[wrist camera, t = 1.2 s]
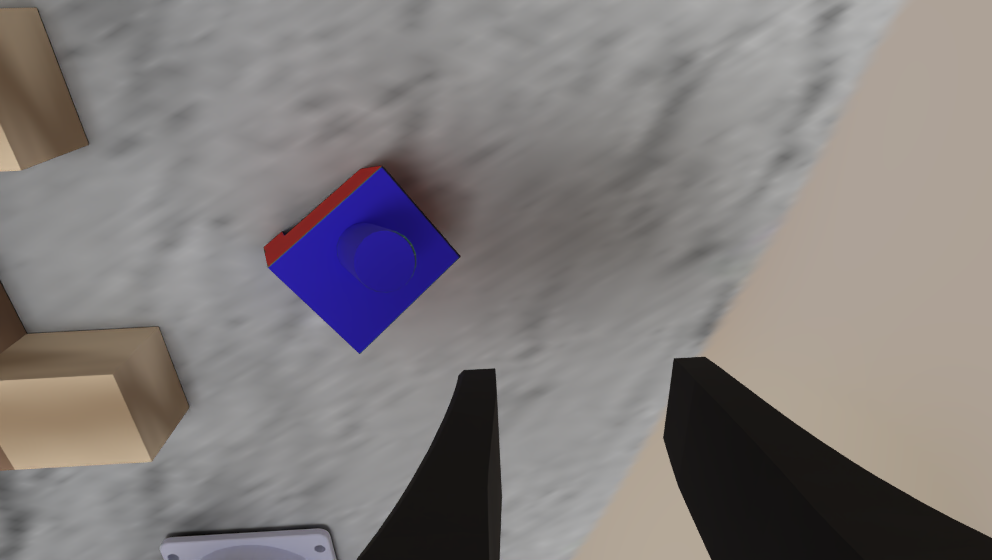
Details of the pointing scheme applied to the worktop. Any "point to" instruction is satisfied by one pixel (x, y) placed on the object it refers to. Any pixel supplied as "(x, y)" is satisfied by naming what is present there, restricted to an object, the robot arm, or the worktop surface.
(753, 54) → the worktop surface
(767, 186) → the worktop surface
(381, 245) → the toy building block
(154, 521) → the worktop surface
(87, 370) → the beech bracket
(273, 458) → the worktop surface
